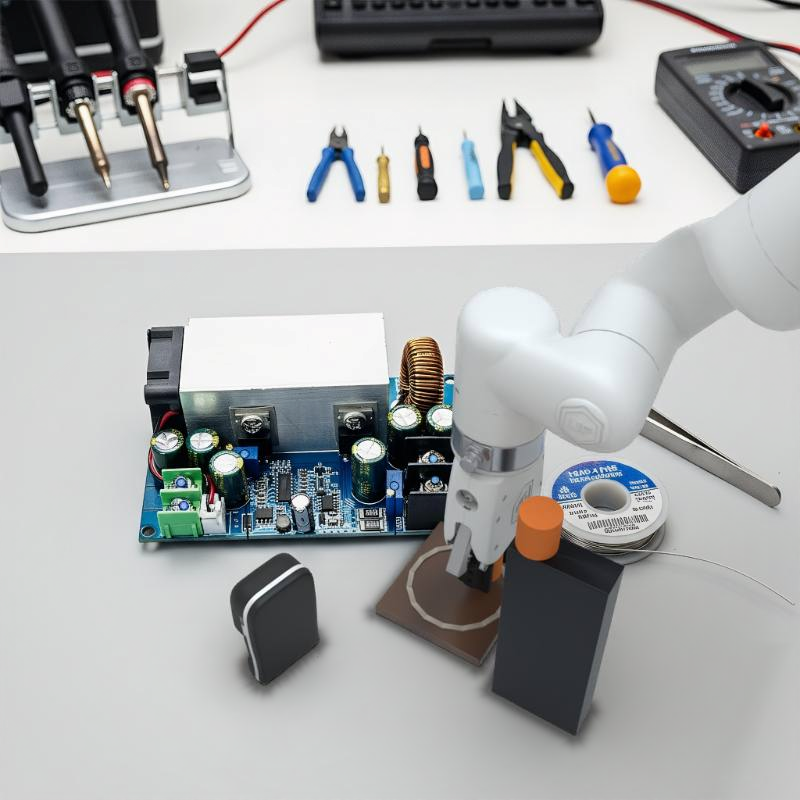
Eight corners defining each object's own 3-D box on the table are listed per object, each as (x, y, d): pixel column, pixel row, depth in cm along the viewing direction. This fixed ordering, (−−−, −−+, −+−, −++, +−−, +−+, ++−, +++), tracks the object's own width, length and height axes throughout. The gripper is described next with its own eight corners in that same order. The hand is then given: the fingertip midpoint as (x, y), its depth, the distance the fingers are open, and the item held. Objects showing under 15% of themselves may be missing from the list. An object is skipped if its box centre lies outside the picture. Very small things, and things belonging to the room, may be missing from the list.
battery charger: (296, 615, 92) (285, 538, 84) (323, 641, 90) (315, 563, 82) (236, 662, 88) (219, 585, 81) (262, 689, 86) (248, 613, 79)
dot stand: (590, 708, 85) (625, 565, 71) (575, 736, 83) (608, 595, 69) (507, 665, 88) (525, 520, 74) (491, 691, 86) (506, 547, 72)
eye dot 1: (507, 564, 92) (510, 541, 90) (491, 588, 90) (493, 565, 88) (477, 550, 93) (479, 526, 91) (460, 573, 91) (462, 550, 89)
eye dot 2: (566, 537, 73) (571, 506, 71) (547, 567, 71) (551, 536, 69) (527, 520, 74) (531, 489, 72) (507, 549, 72) (510, 518, 70)
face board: (539, 573, 95) (540, 566, 94) (479, 667, 88) (479, 660, 87) (440, 527, 99) (440, 519, 99) (375, 612, 92) (374, 605, 91)
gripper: (491, 517, 73) (477, 654, 85) (584, 387, 83) (559, 527, 95) (404, 476, 75) (403, 615, 88) (504, 356, 86) (490, 496, 98)
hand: (484, 568), depth 92 cm, fingers closed on eye dot 1, 3 cm apart
